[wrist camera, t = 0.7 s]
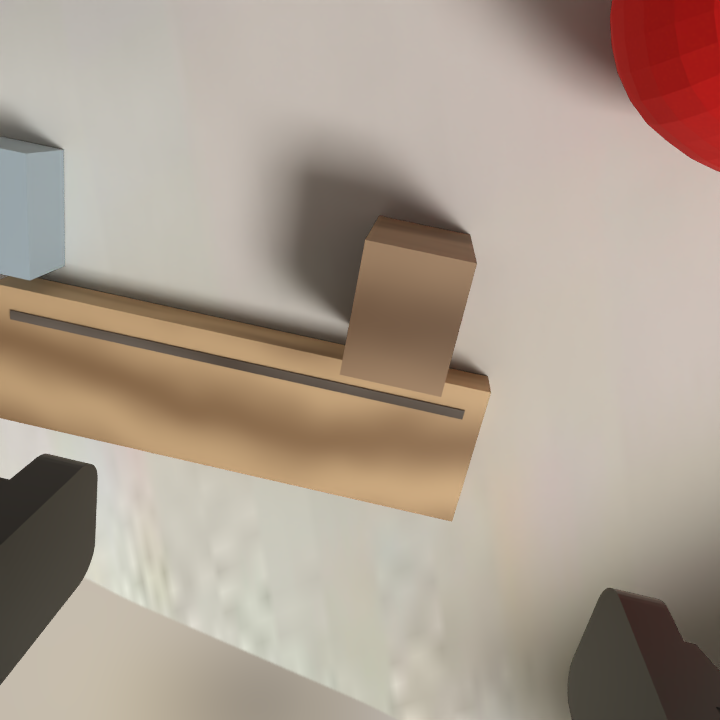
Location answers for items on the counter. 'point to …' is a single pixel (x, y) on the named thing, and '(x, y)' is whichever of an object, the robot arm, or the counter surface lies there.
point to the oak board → (231, 397)
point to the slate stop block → (31, 209)
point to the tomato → (672, 69)
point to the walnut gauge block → (408, 305)
